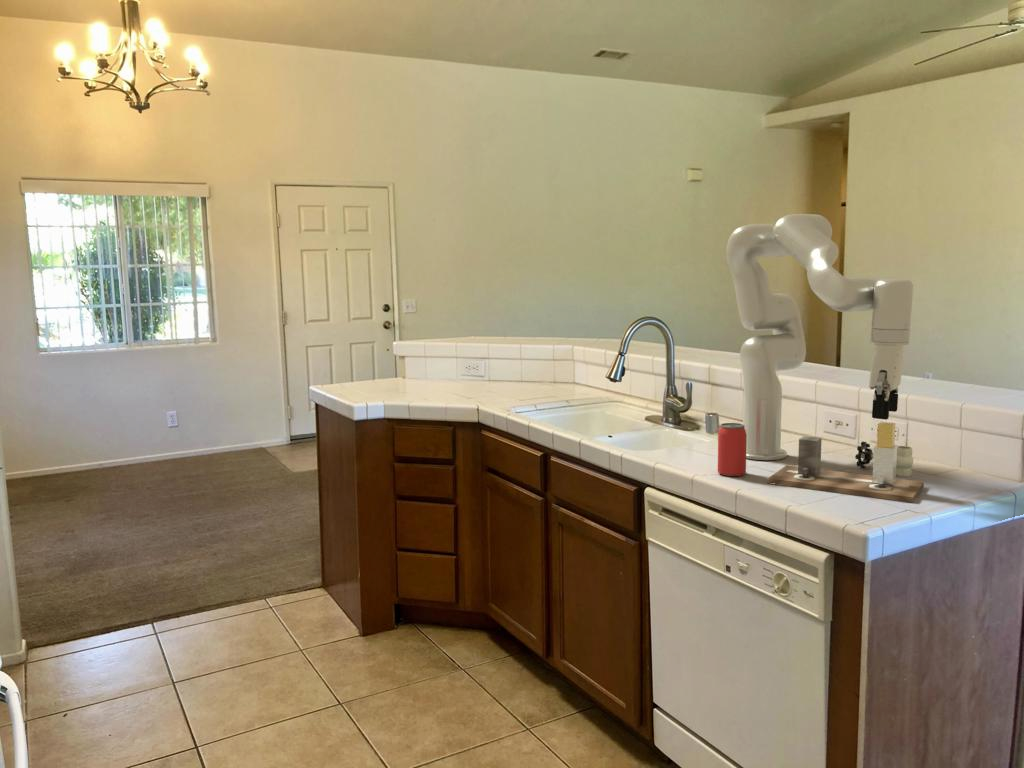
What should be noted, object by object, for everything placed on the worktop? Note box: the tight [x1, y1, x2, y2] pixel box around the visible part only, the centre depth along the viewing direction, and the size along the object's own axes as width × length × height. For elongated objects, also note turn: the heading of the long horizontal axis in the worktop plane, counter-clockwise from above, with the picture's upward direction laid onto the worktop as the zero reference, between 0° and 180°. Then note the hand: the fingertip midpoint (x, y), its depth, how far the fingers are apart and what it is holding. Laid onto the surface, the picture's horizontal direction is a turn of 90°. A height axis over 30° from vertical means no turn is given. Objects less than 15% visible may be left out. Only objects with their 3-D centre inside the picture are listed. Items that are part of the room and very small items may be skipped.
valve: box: [854, 441, 914, 477], centre depth 189 cm, size 7×7×12 cm
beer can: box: [717, 422, 747, 477], centre depth 190 cm, size 7×7×12 cm
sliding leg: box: [872, 421, 898, 486], centre depth 173 cm, size 4×6×13 cm, turn 145°
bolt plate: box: [767, 435, 925, 504], centre depth 178 cm, size 30×14×10 cm, turn 55°
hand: (884, 414), depth 173 cm, fingers open, 9 cm apart
